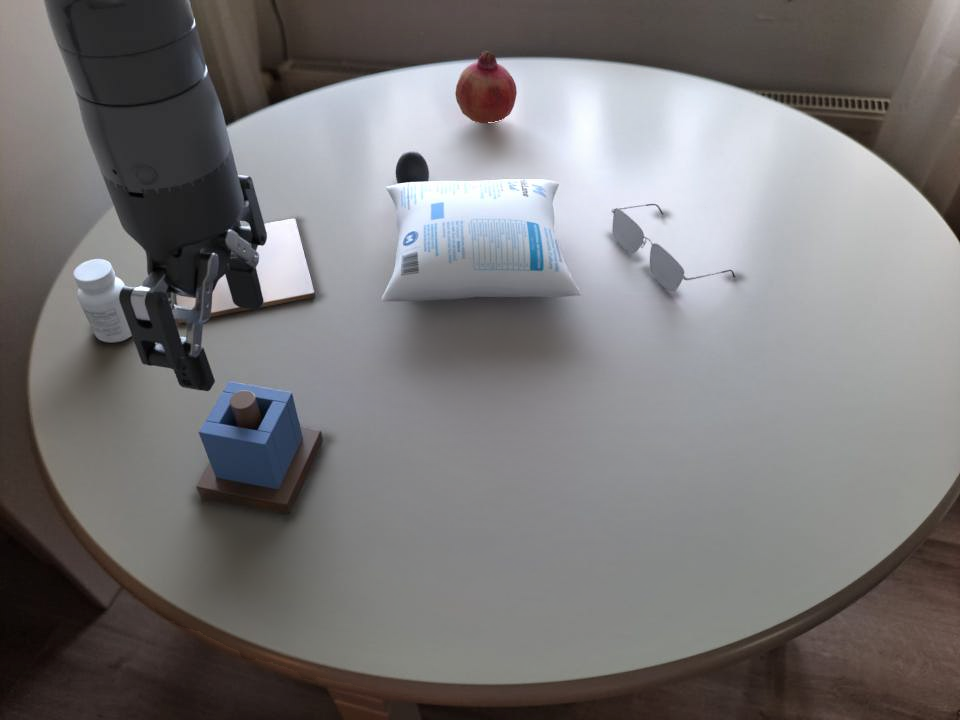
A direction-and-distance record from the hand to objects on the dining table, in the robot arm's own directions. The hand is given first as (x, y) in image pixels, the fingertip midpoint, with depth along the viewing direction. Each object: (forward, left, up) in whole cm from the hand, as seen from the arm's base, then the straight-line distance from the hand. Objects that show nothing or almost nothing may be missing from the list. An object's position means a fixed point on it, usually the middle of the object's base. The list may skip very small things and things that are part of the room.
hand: (225, 344), depth 59 cm
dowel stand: (0, 0, -15) cm, 15 cm away
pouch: (+26, +21, -15) cm, 37 cm away
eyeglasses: (+47, +16, -15) cm, 52 cm away
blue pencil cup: (0, 0, -14) cm, 14 cm away
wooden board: (+1, +28, -15) cm, 32 cm away
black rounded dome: (+23, +38, -15) cm, 47 cm away
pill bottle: (-12, +22, -15) cm, 29 cm away
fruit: (+36, +50, -15) cm, 64 cm away
